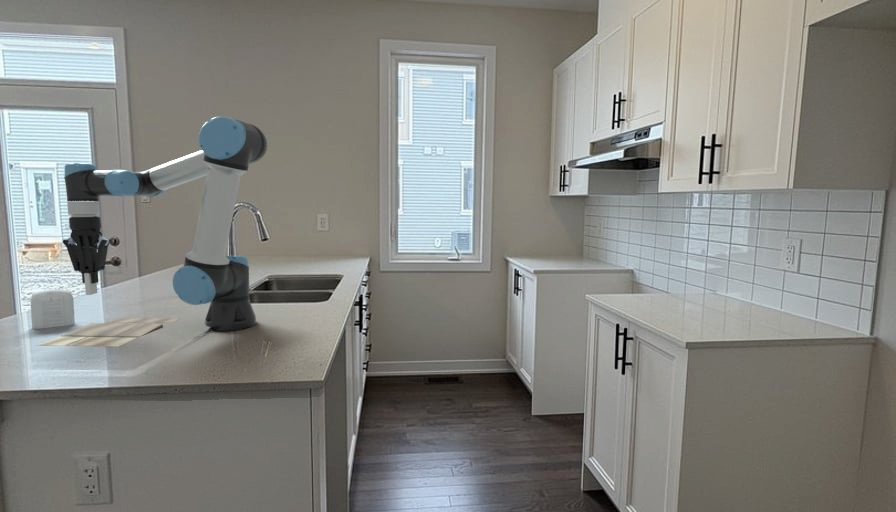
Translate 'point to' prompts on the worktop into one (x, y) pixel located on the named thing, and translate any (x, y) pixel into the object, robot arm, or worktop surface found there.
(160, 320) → the plank
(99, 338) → the light wood flat board
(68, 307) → the photo printer
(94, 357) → the worktop surface
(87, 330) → the plank
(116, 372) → the worktop surface
